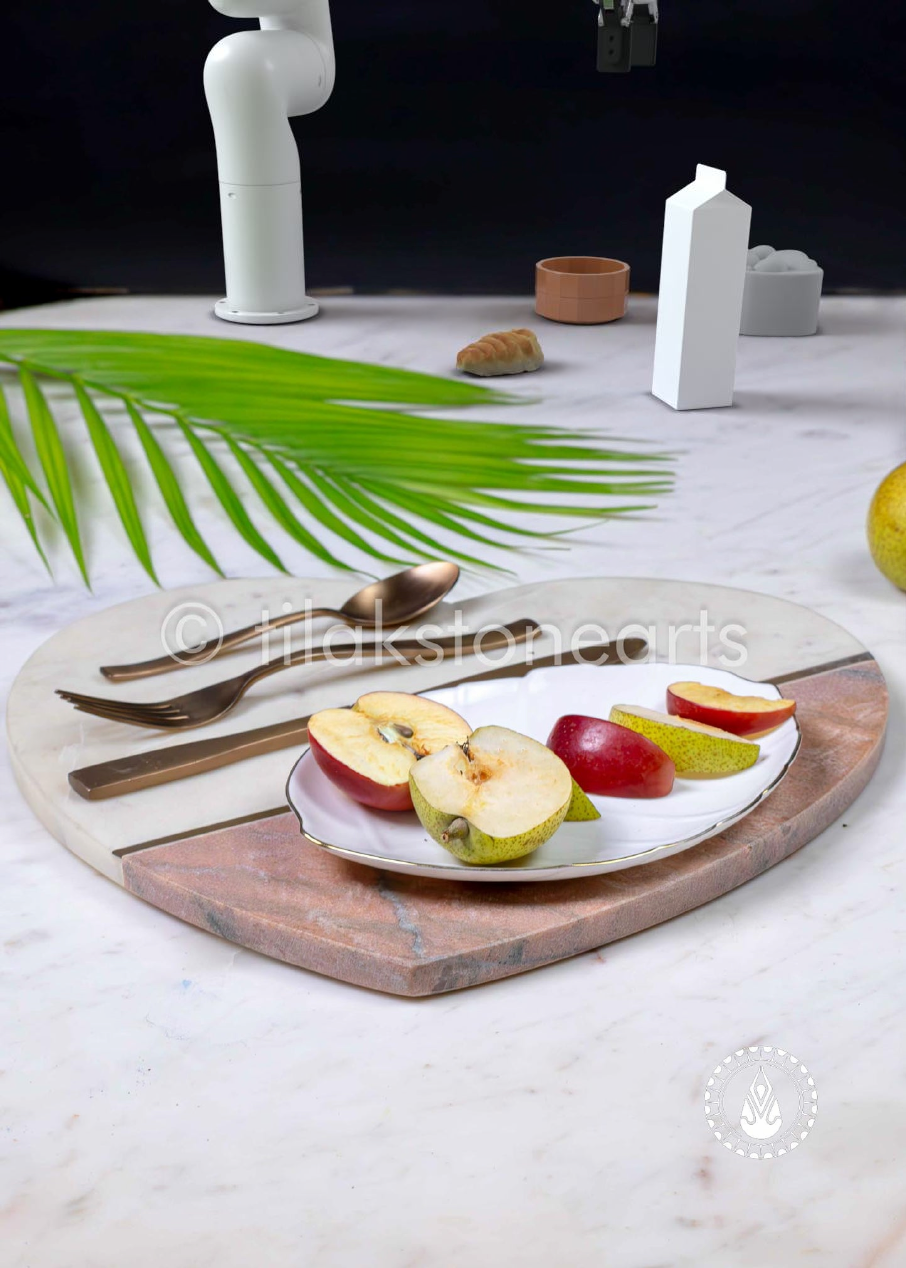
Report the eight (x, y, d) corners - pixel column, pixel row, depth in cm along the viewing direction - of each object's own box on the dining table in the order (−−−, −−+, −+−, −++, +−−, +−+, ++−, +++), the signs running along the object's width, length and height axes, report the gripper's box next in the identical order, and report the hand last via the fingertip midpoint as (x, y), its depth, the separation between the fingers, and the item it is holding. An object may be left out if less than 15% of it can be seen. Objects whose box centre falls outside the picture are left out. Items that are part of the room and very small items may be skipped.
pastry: (481, 383, 139) (481, 346, 138) (440, 369, 144) (440, 334, 142) (548, 368, 145) (550, 332, 143) (507, 356, 149) (508, 321, 148)
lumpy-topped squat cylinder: (819, 337, 158) (829, 261, 154) (707, 334, 159) (714, 258, 155) (805, 316, 167) (814, 244, 163) (698, 313, 168) (705, 242, 164)
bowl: (518, 309, 169) (520, 260, 167) (596, 301, 174) (599, 253, 171) (562, 329, 160) (565, 278, 158) (643, 320, 164) (647, 270, 162)
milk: (676, 411, 131) (695, 173, 121) (650, 394, 137) (666, 164, 127) (733, 406, 133) (756, 170, 123) (706, 389, 138) (725, 161, 128)
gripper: (622, -122, 136) (613, 63, 143) (570, -133, 121) (564, 73, 129) (696, -124, 133) (683, 64, 141) (652, -136, 119) (641, 75, 126)
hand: (626, 69), depth 135 cm, fingers open, 9 cm apart
